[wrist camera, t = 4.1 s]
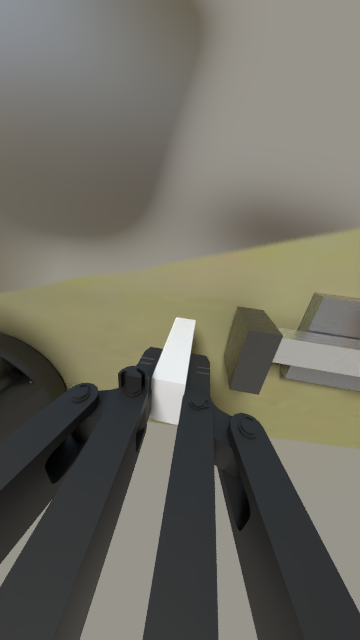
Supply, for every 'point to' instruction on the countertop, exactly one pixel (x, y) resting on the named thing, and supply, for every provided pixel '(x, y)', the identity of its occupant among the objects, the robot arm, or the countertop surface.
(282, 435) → the countertop surface
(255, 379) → the plunger
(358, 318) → the gauge body
